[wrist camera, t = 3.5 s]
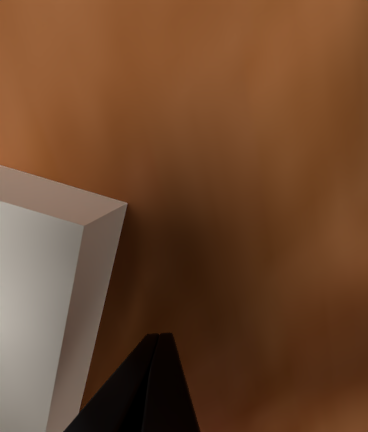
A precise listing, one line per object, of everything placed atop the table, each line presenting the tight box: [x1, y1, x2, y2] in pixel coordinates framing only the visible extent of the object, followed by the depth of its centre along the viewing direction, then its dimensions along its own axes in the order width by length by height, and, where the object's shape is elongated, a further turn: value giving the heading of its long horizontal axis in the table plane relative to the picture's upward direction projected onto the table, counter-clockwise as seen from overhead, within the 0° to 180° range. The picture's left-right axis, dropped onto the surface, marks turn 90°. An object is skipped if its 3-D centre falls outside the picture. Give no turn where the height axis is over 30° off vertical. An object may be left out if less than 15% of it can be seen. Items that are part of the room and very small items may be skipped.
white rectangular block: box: [0, 165, 128, 432], centre depth 8 cm, size 6×12×4 cm, turn 164°
